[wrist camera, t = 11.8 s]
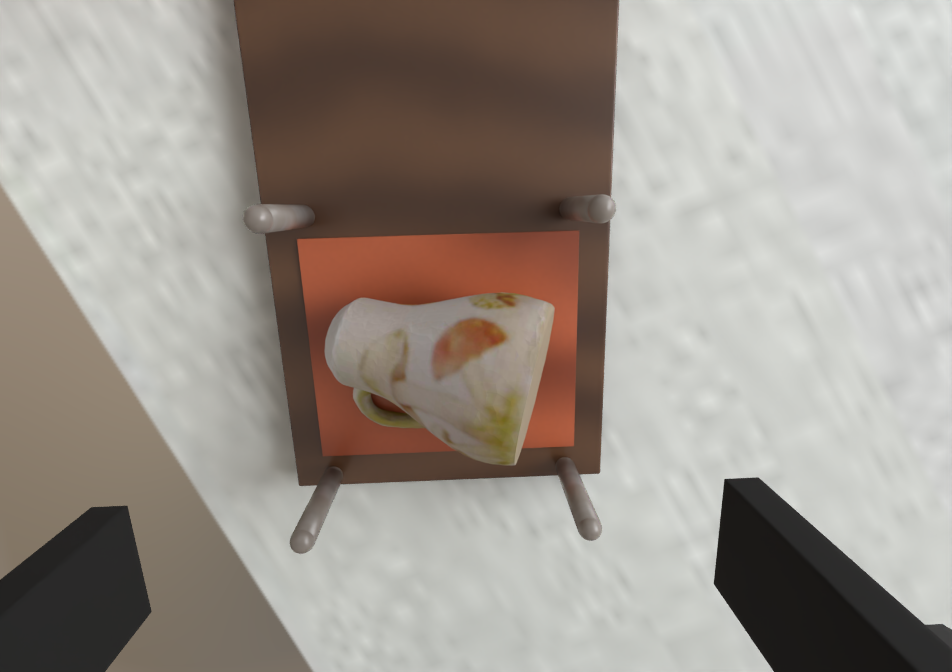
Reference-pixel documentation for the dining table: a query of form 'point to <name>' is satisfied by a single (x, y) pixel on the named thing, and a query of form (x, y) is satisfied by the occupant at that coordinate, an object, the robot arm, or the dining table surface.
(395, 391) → the mug
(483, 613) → the dining table surface
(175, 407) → the dining table surface
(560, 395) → the rack
